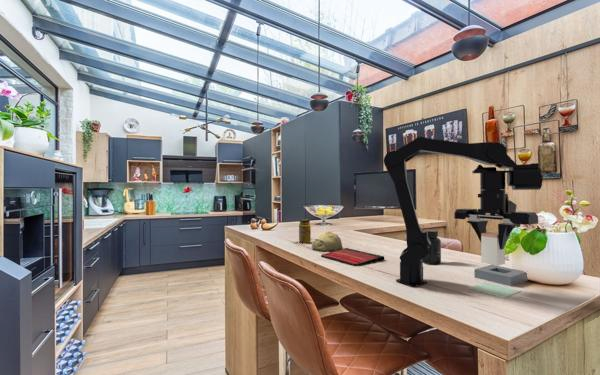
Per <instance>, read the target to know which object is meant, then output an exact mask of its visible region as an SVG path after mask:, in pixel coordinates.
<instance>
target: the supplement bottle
mask: <svg viewBox="0 0 600 375" xmlns="http://www.w3.org/2000/svg"><path fill="white" fill-rule="evenodd" d="M426 230H427V234H428V239H429V240H430V242H431V246H430V247H429V253H428V255H427V256H426V257H425V258H423V259H421V261H423V264H426V265H440V264H441V263H442V239H440V238H439V231H438V230H435V229H426Z"/></svg>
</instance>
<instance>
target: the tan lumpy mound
mask: <svg viewBox="0 0 600 375" xmlns="http://www.w3.org/2000/svg"><path fill="white" fill-rule="evenodd" d="M312 242H313V243H311V248H312V250H315V251H322V252H334V251H337V250H341V249H344V248H343V243H342V239H341V237H340V236H339V235H338V234H337V233H333V232H331V231H326V232H324V233H323V234H320V236H317V238H315V239H314V240H313V241H312Z"/></svg>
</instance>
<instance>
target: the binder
mask: <svg viewBox="0 0 600 375" xmlns="http://www.w3.org/2000/svg"><path fill="white" fill-rule="evenodd" d="M320 257H321V258H324V259H329V260H332V261H336V262H340V263H343V264H346V265H348V266H351V267H359V266H363V265H369V264H374V263H377V262H378V261H379V260H380V261H385V256H384V255H380V254H375V253H371V252H365V251H361V250H356V249H353V248H348V247H346V248H345V247H344V248H342V249H341V250H337V251H335V250H333V251H329V252H327V253H322V254H321V256H320Z"/></svg>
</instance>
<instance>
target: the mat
mask: <svg viewBox="0 0 600 375" xmlns="http://www.w3.org/2000/svg"><path fill="white" fill-rule="evenodd" d="M467 289H469V290H472V291H476V292H479V293H484V294H487V295H490V296H494V297H497V298H501V299H505V298H508V297H511V296H513V295H515V294H519V293H520V292H522V290H519V289H518V290H517V289H514V288H511V287H508V286H507V287H505V286H502V285H499V284H495V283H492V282H491V283H490V282H488V281H487V282H486V281H485V282H482V283H481V282H480V283H479V284H475V285H473V286H469V287H467Z"/></svg>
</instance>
